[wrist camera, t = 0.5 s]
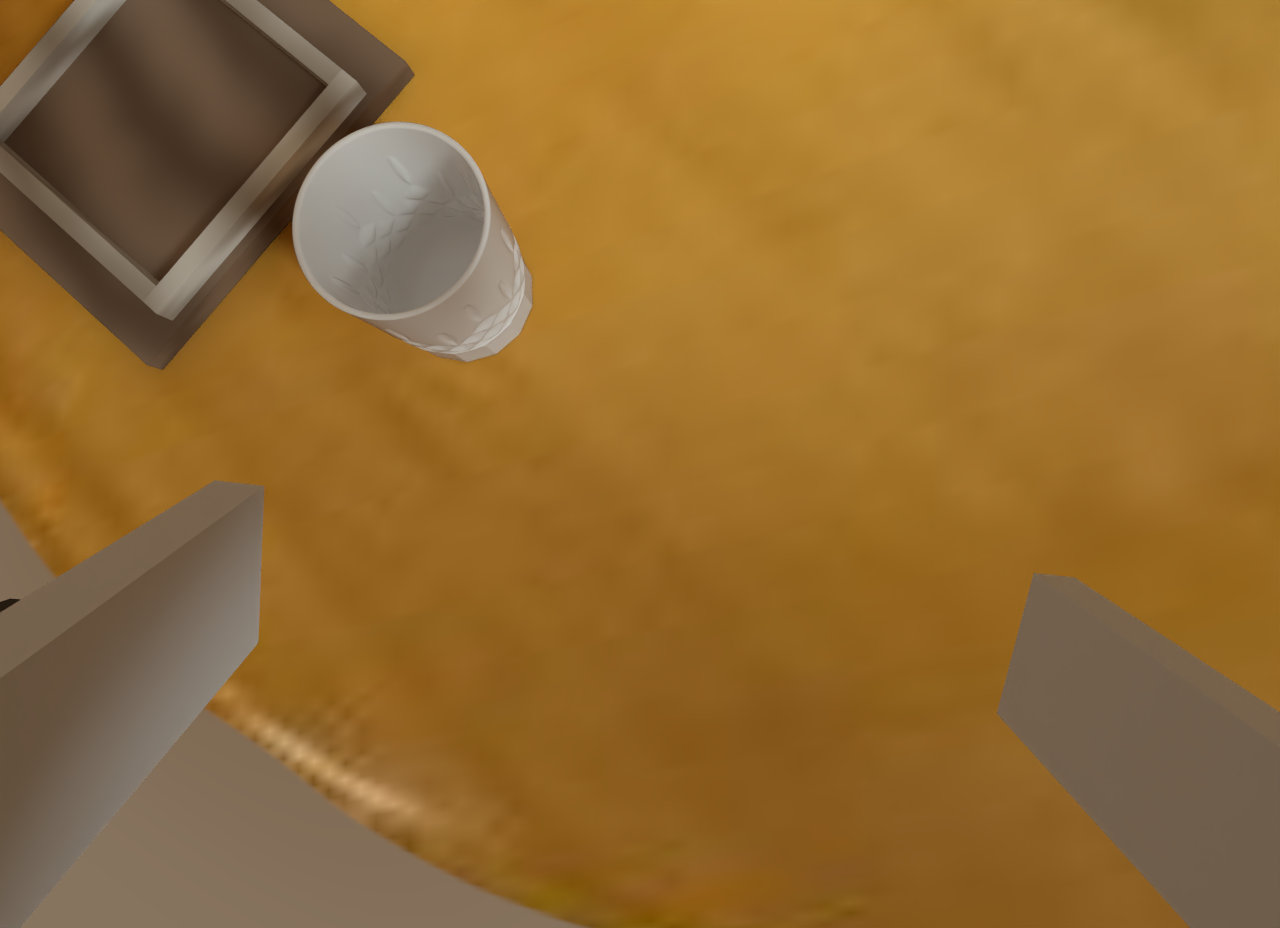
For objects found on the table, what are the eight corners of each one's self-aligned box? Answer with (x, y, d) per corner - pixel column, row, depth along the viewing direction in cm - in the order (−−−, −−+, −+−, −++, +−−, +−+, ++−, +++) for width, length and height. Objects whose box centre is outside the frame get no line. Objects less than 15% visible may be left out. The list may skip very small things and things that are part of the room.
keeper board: (202, -94, 46) (174, -129, 44) (414, 75, 44) (396, 47, 41) (-38, 185, 46) (-80, 166, 43) (162, 369, 44) (130, 359, 41)
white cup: (376, 359, 43) (271, 301, 33) (410, 209, 43) (316, 108, 33) (527, 386, 42) (465, 335, 32) (560, 232, 42) (509, 136, 32)
